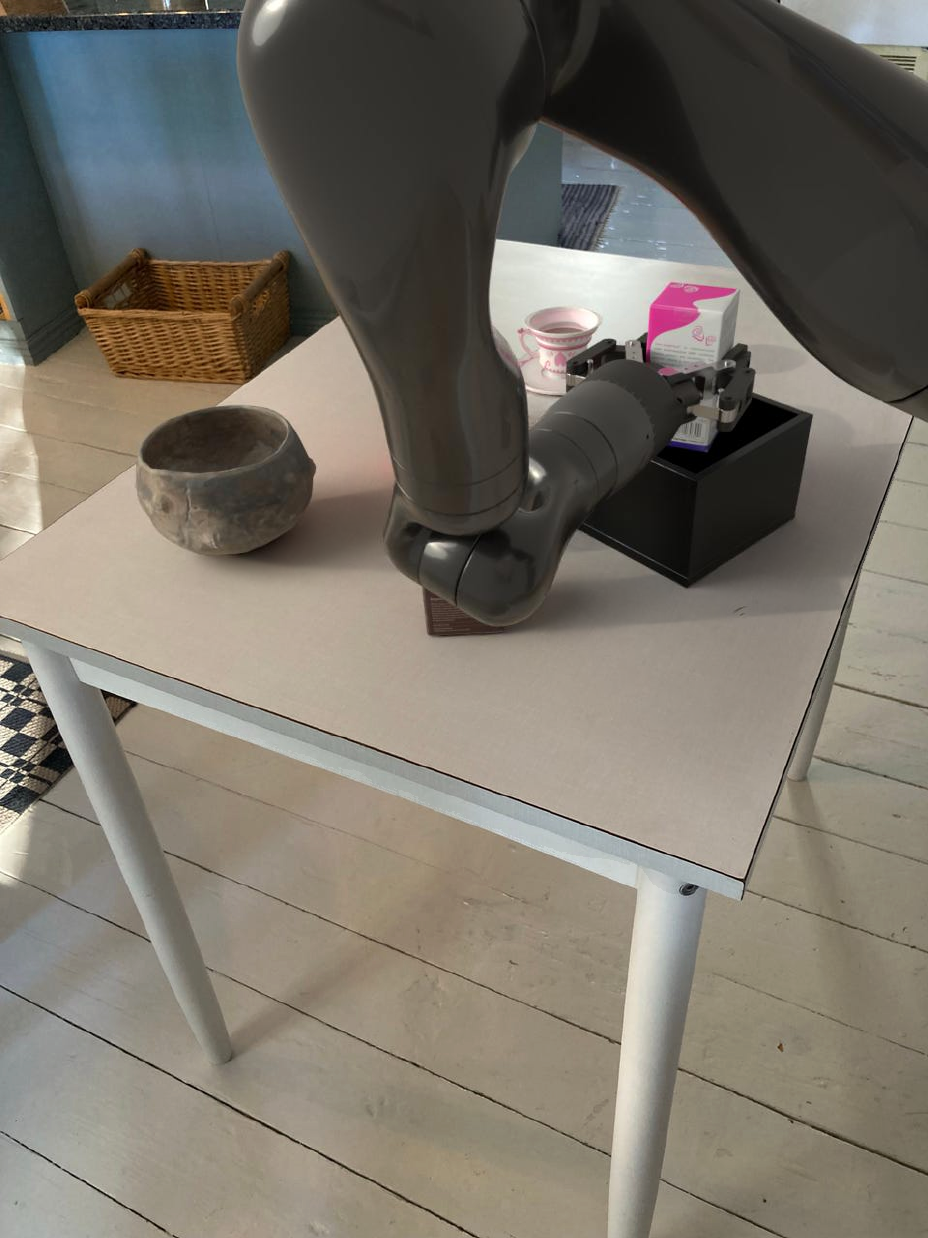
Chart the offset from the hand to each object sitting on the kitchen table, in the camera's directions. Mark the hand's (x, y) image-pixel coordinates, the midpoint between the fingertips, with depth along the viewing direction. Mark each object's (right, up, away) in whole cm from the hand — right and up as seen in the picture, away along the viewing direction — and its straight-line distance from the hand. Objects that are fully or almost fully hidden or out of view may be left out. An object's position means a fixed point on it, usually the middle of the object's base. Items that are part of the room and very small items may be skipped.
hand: (700, 346), depth 80 cm
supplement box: (-1, -7, +3) cm, 7 cm away
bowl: (-39, -14, +10) cm, 43 cm away
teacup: (-8, +6, +32) cm, 34 cm away
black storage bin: (0, -13, +8) cm, 15 cm away
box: (-19, -22, -1) cm, 29 cm away
